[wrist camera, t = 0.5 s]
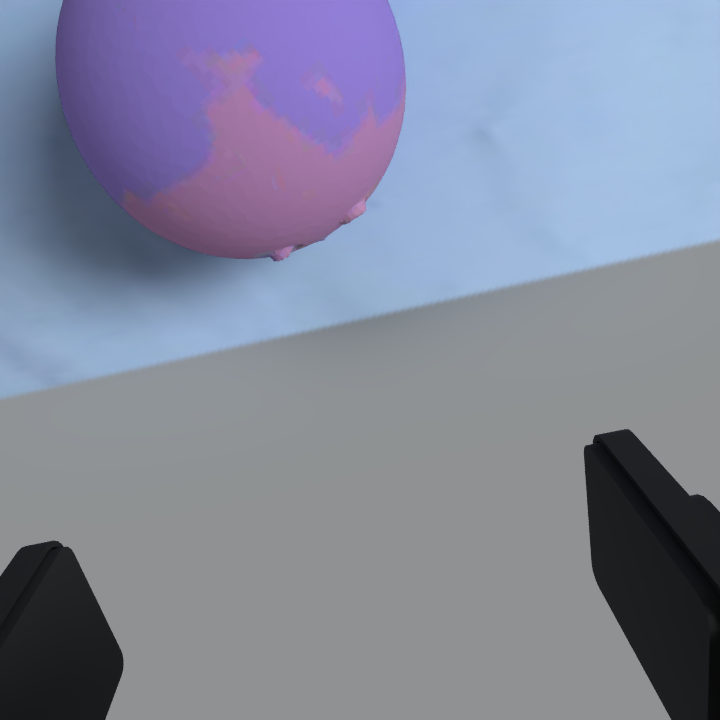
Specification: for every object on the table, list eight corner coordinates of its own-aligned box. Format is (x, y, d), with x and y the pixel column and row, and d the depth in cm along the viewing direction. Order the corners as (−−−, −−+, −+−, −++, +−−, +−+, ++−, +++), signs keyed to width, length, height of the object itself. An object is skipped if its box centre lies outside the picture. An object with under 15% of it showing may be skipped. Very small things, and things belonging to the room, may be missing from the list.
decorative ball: (233, 273, 39) (177, 368, 25) (64, 47, 34) (-123, 10, 20) (439, 136, 36) (504, 158, 22) (291, -132, 31) (256, -320, 17)
